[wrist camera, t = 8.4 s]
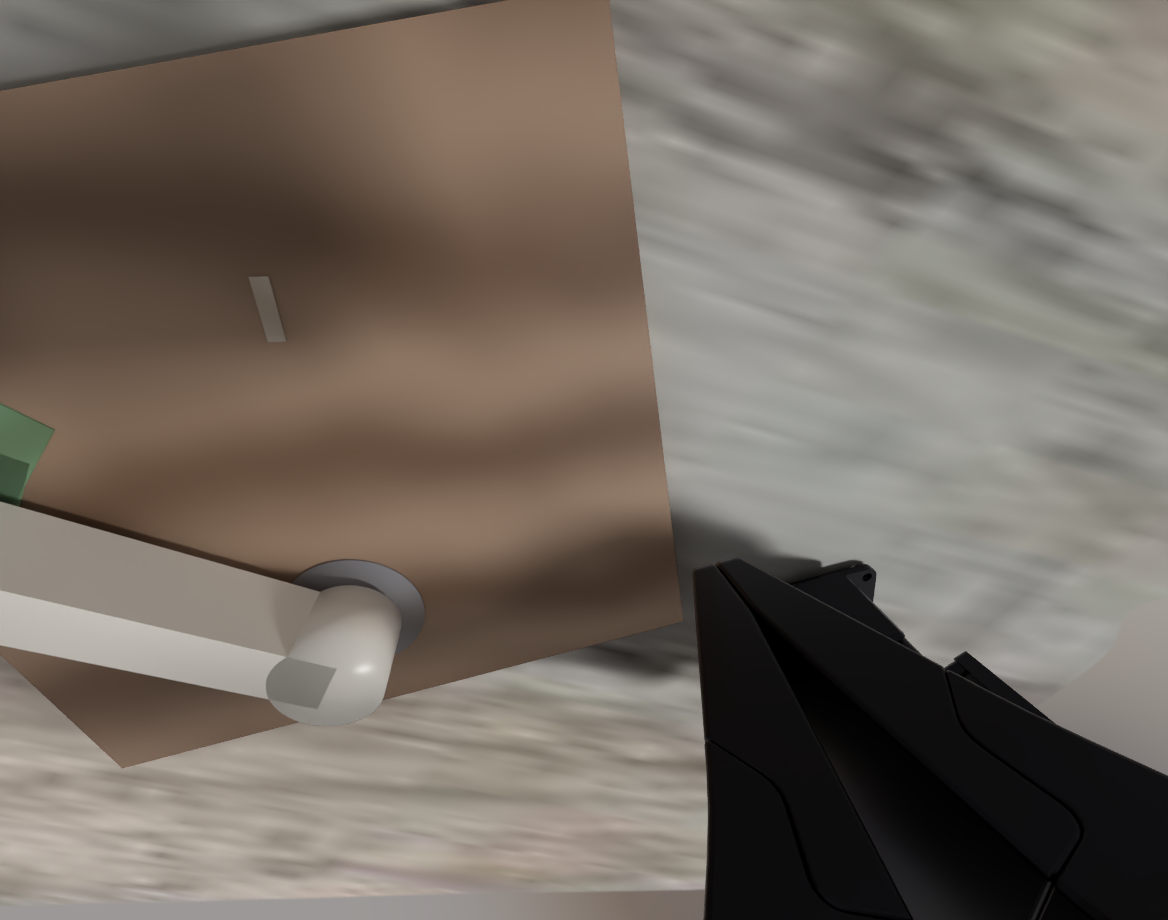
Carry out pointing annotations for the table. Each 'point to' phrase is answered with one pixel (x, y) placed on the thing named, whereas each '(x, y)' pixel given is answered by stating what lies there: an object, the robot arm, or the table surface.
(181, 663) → the peg lever
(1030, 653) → the table surface
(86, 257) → the plate
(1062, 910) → the robot arm
